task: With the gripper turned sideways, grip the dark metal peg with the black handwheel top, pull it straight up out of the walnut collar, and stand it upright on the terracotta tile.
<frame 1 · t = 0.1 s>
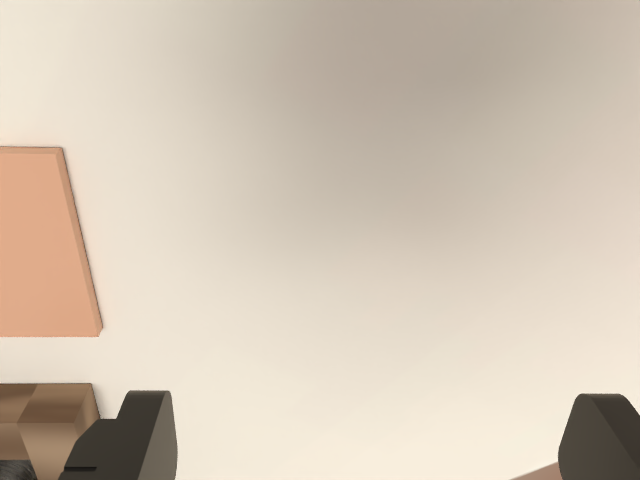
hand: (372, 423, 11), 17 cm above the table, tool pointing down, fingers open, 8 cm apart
collar: (16, 448, 36), on the table
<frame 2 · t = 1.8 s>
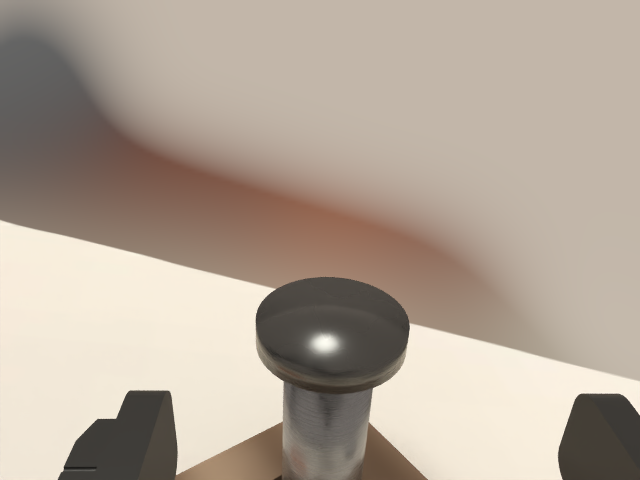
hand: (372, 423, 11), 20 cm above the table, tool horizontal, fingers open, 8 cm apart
peg: (323, 445, 26), in the collar
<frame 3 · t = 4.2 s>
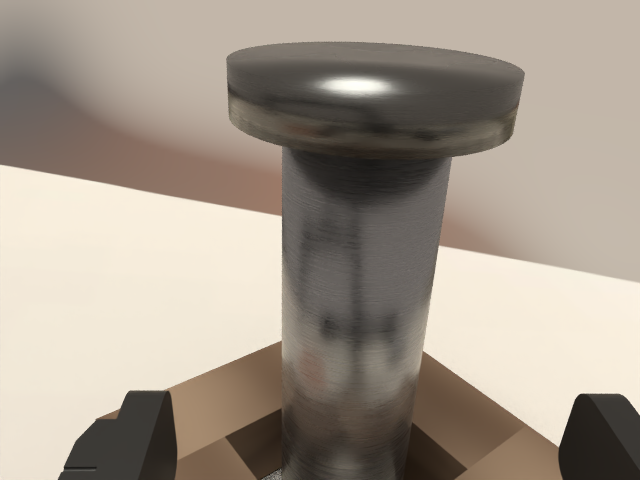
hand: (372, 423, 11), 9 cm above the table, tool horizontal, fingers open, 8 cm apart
peg: (352, 338, 15), in the collar
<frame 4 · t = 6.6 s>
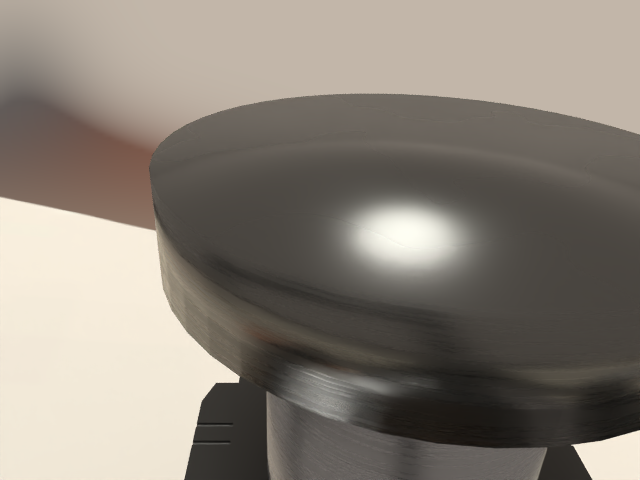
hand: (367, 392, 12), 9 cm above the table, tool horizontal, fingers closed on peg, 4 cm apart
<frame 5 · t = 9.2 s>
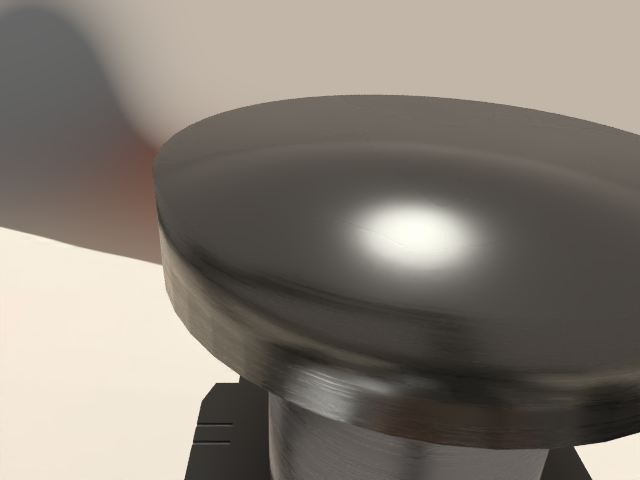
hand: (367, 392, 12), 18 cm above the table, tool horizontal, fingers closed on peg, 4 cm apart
when the fingers open (11 cm above the table, at t = 12.1 s): peg stays where it is, resting on pad.
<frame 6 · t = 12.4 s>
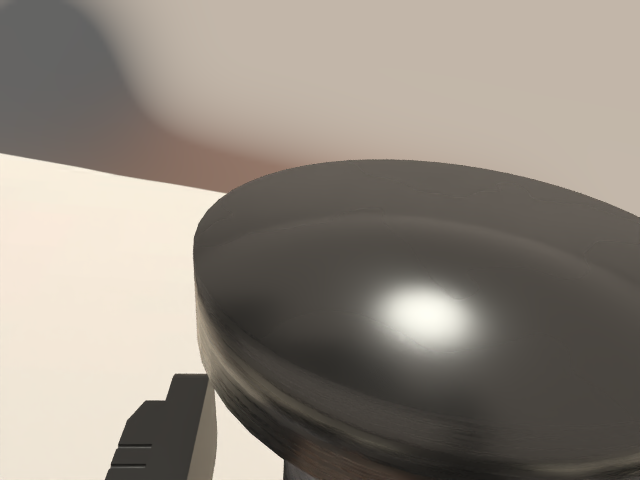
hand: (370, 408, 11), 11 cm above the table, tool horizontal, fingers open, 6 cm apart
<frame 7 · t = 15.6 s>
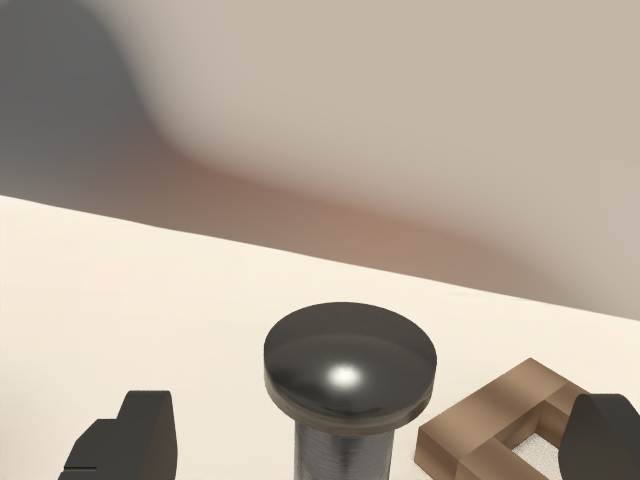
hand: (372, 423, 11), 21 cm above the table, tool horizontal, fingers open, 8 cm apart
collar: (548, 478, 34), on the table
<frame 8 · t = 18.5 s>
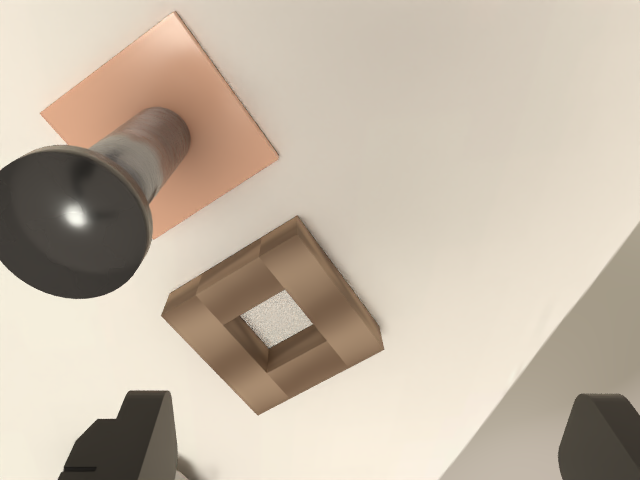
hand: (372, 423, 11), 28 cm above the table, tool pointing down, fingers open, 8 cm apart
collar: (277, 310, 43), on the table
pad: (164, 133, 36), on the table
peg: (123, 172, 29), on the pad, point 8 cm above the table
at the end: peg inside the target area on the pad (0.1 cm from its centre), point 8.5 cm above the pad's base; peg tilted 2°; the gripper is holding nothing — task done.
